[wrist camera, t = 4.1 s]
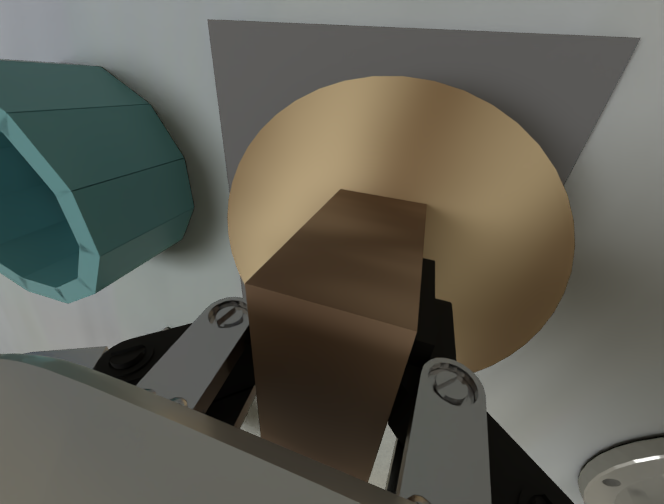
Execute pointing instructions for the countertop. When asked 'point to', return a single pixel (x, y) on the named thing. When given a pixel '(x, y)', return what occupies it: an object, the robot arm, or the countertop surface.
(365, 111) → the lid
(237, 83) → the mat
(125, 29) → the countertop surface
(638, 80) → the countertop surface
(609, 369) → the countertop surface
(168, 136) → the bowl
